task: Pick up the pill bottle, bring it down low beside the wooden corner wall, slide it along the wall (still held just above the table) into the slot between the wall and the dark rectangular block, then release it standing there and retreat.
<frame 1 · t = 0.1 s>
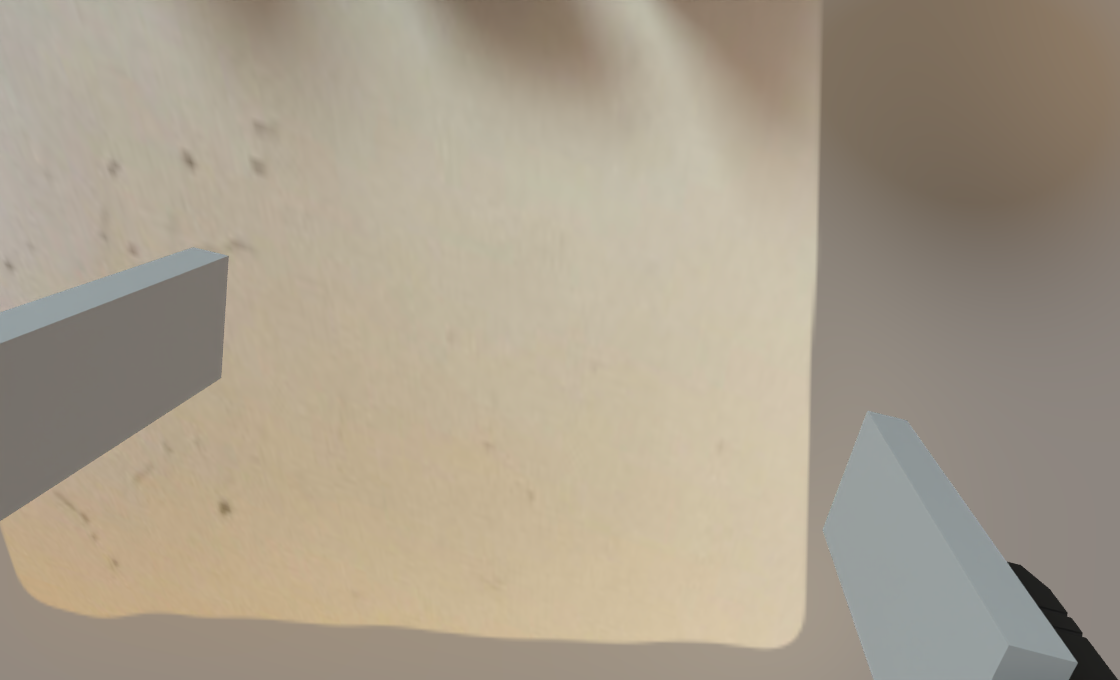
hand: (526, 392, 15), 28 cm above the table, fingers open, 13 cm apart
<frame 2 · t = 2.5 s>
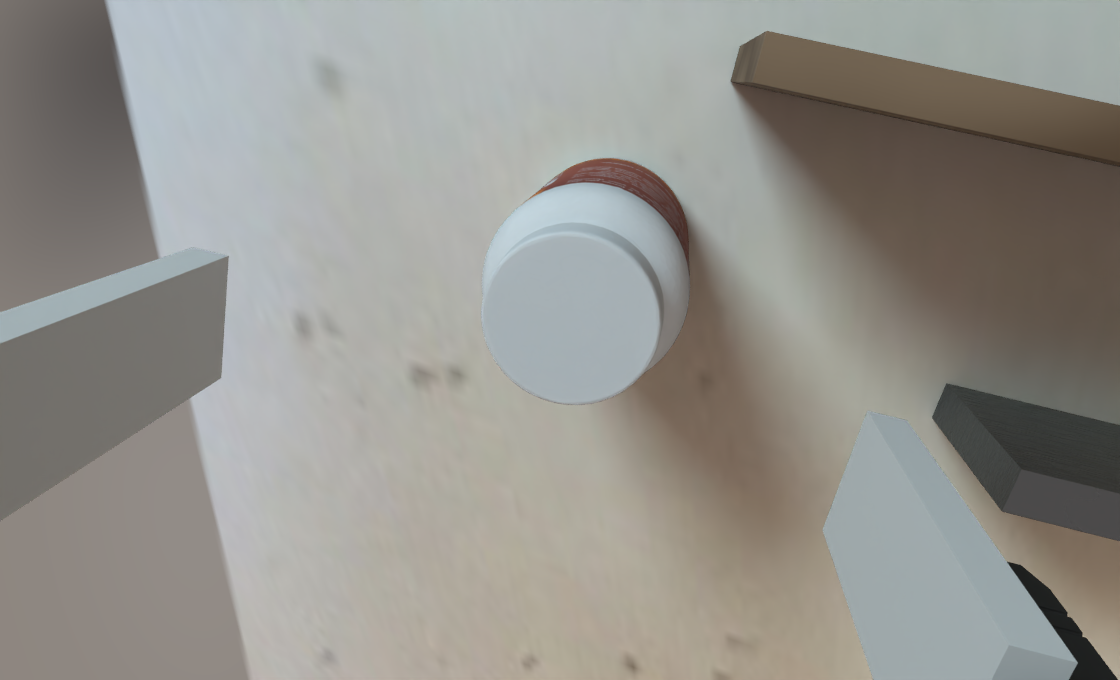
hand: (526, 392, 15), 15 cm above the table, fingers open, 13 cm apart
wooden corner wall: (1075, 292, 28), on the table
pill bottle: (608, 237, 30), on the table
dark rectangular block: (1043, 426, 30), on the table
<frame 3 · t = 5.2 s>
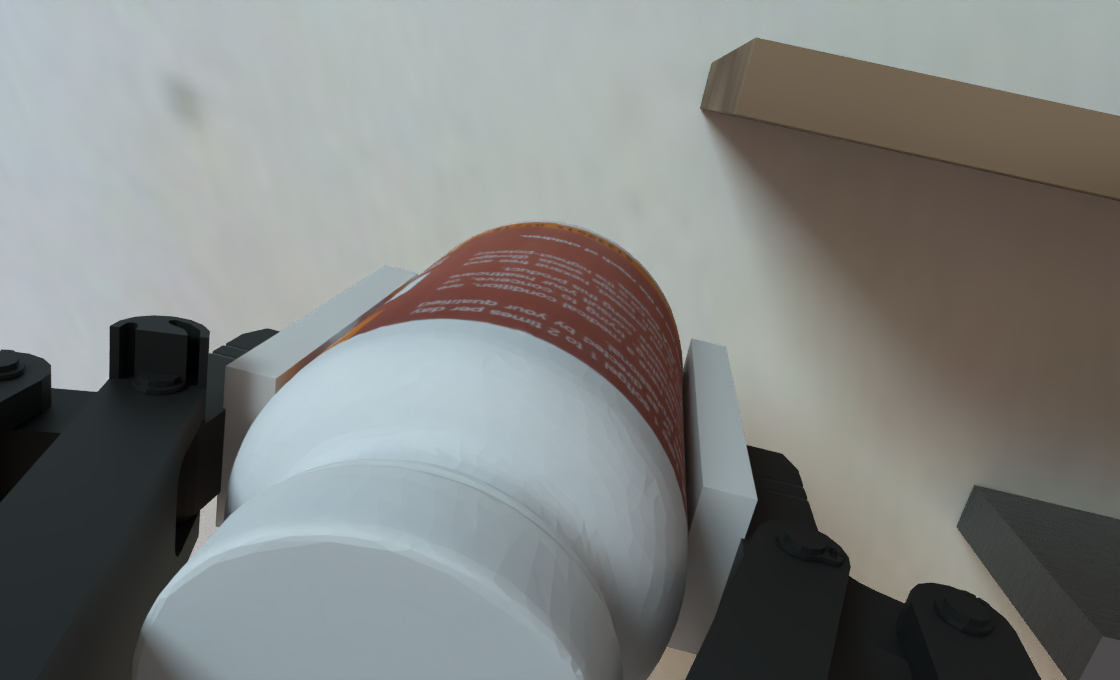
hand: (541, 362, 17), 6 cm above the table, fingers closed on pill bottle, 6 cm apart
pill bottle: (546, 349, 18), point 6 cm above the table, touching gripper
dark rectangular block: (1094, 536, 24), on the table
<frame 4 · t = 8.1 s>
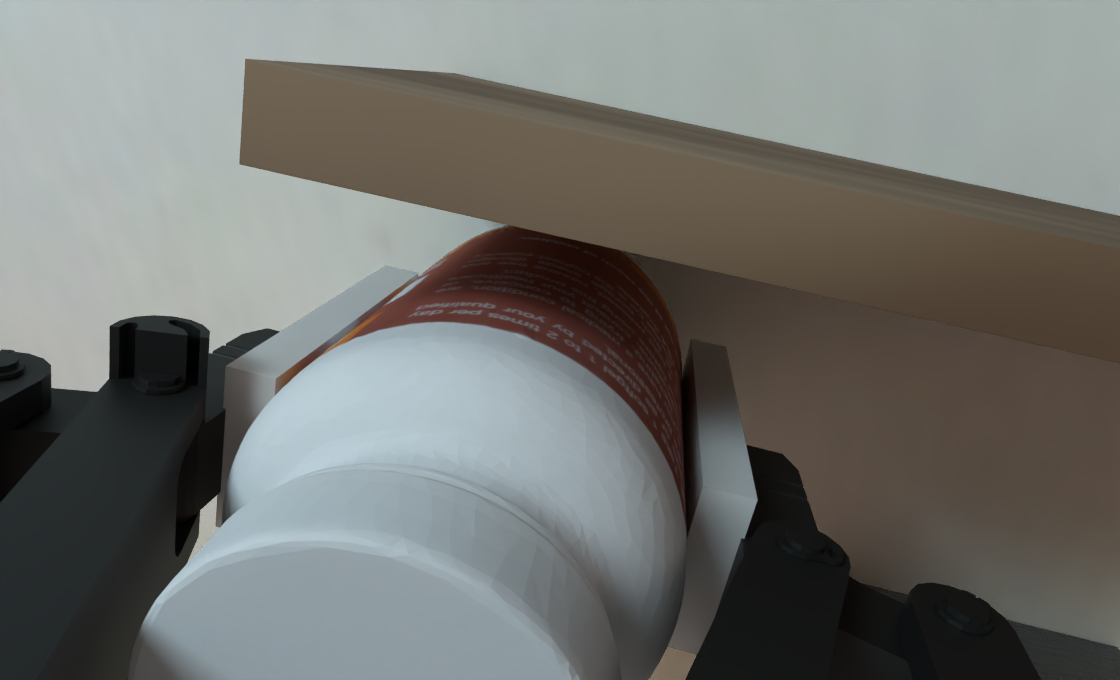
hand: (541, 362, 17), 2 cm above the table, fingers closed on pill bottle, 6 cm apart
wooden corner wall: (985, 444, 18), on the table
pill bottle: (545, 350, 18), point 1 cm above the table, touching gripper
dark rectangular block: (947, 631, 20), on the table
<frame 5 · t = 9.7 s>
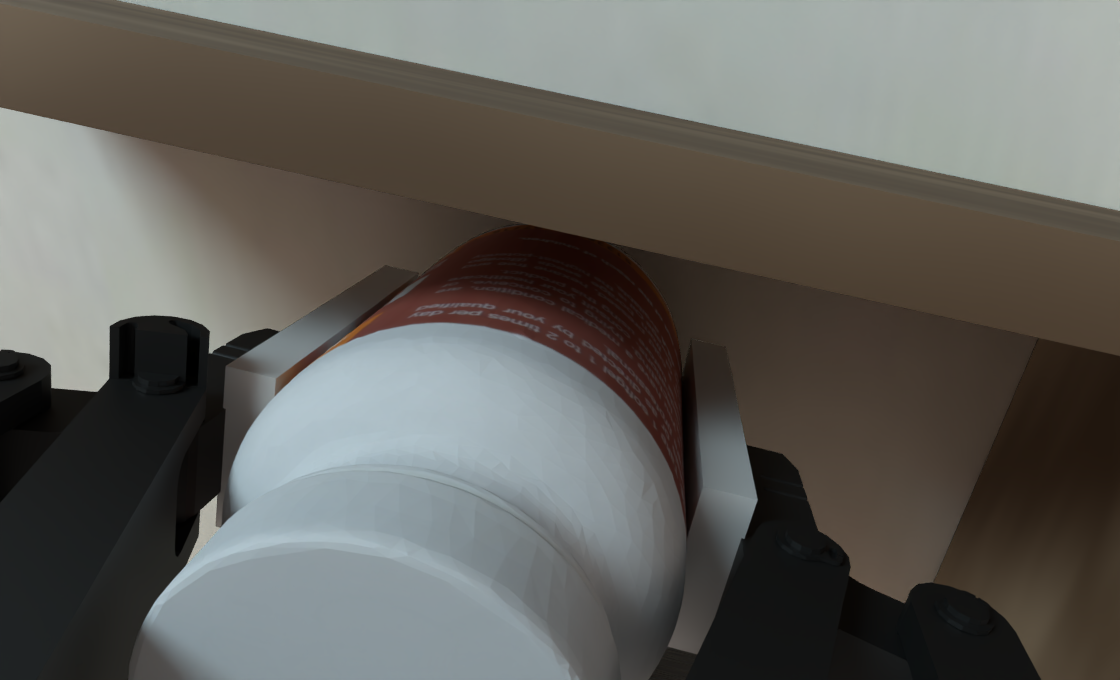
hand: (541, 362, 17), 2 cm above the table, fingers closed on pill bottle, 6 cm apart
wooden corner wall: (563, 342, 19), on the table
pill bottle: (545, 351, 18), point 1 cm above the table, touching gripper
dark rectangular block: (562, 531, 21), on the table
when the fingers open (2 cm above the table, at t = 11.1 s): pill bottle drops 2 cm, on the table.
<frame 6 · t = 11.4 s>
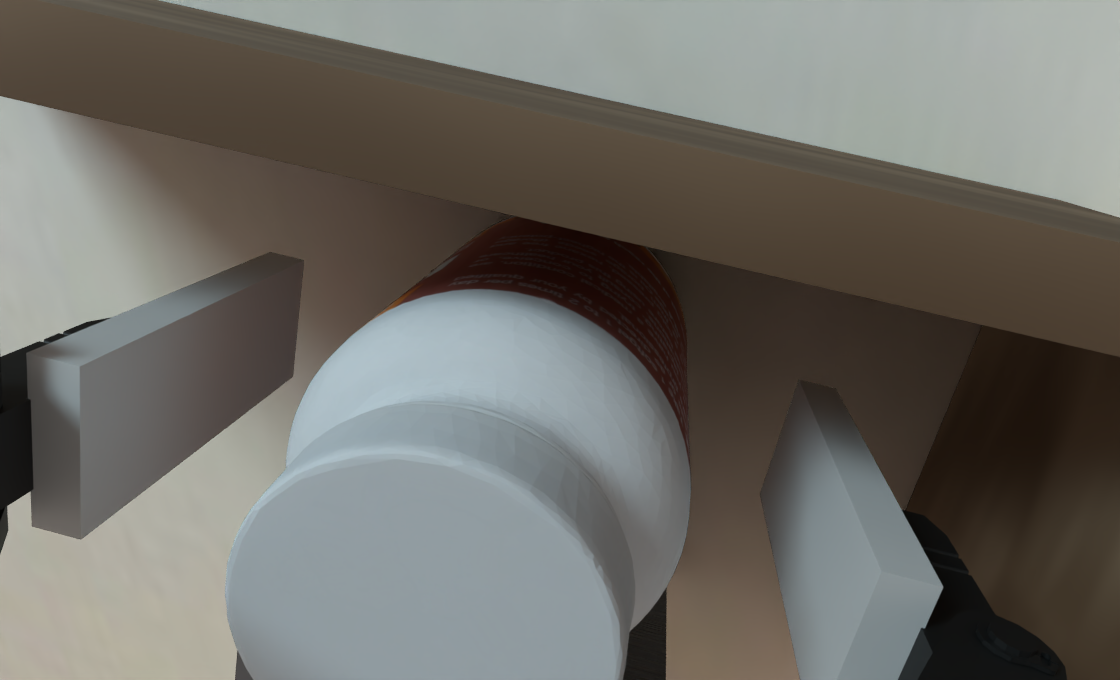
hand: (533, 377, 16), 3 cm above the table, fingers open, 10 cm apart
wooden corner wall: (514, 326, 19), on the table
pill bottle: (561, 329, 19), on the table
dark rectangular block: (514, 516, 21), on the table
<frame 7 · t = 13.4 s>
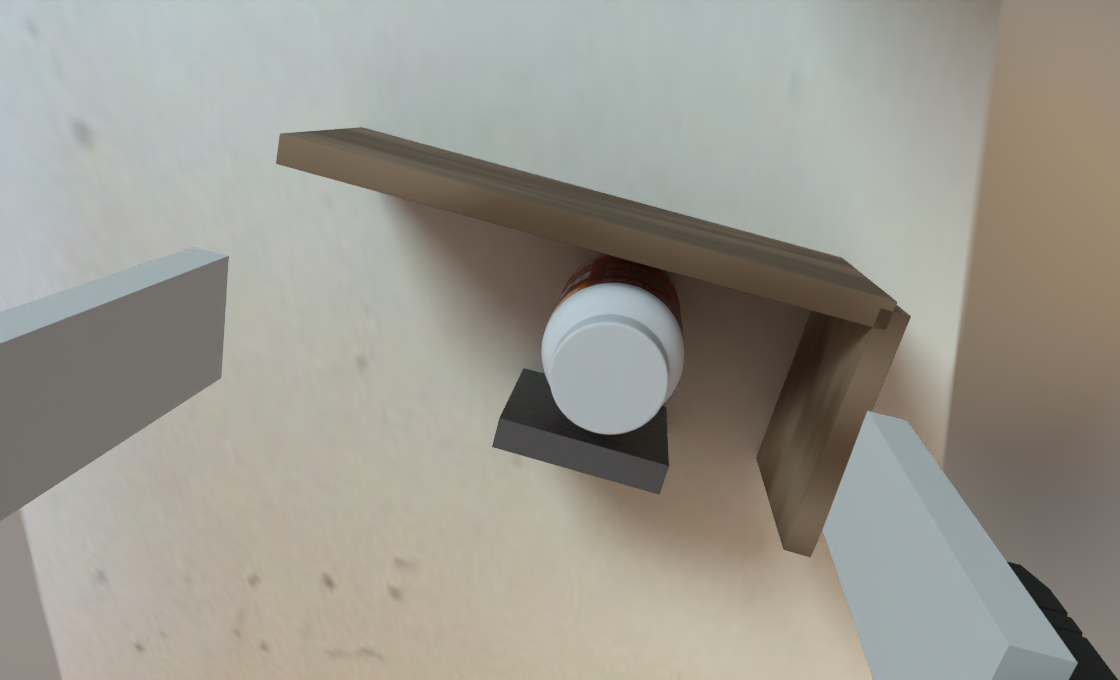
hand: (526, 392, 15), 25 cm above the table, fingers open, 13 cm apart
wooden corner wall: (598, 305, 40), on the table
pill bottle: (620, 308, 40), on the table
dark rectangular block: (591, 400, 42), on the table
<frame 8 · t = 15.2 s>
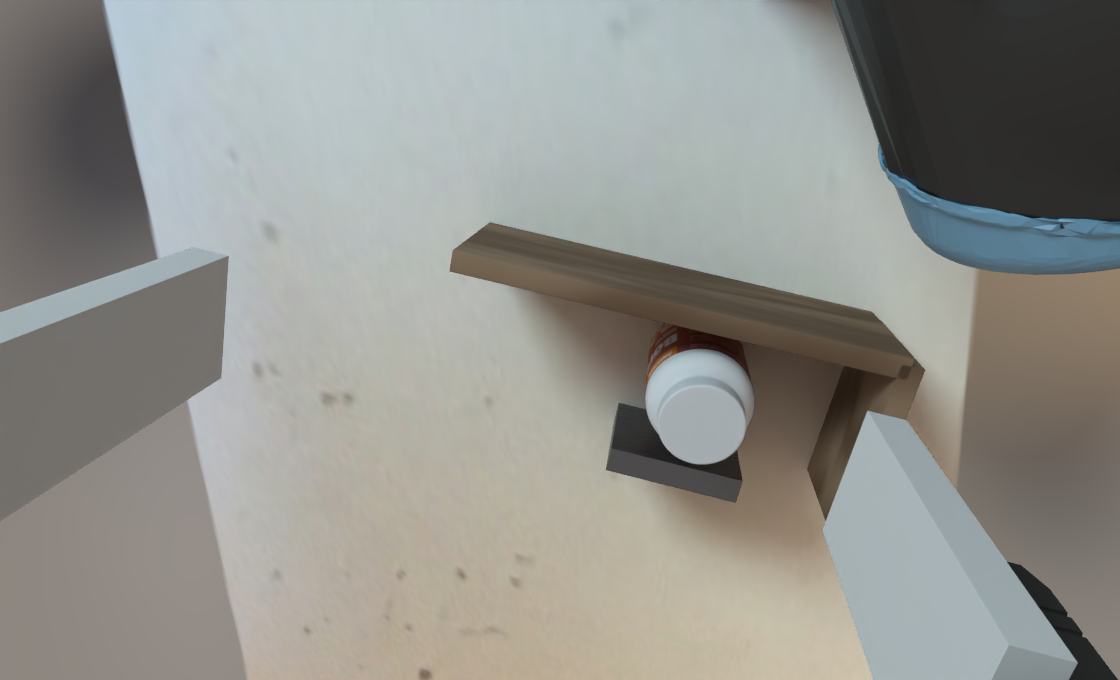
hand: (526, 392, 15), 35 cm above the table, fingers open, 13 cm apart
wooden corner wall: (678, 353, 51), on the table
pill bottle: (695, 354, 51), on the table
dark rectangular block: (673, 426, 53), on the table
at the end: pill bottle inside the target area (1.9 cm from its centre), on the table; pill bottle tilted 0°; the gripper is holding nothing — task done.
